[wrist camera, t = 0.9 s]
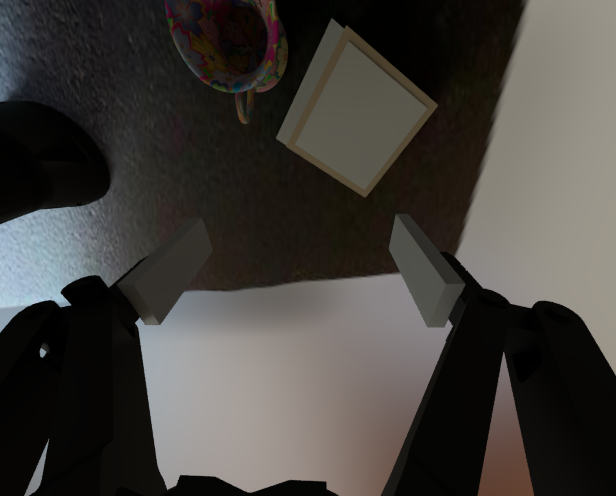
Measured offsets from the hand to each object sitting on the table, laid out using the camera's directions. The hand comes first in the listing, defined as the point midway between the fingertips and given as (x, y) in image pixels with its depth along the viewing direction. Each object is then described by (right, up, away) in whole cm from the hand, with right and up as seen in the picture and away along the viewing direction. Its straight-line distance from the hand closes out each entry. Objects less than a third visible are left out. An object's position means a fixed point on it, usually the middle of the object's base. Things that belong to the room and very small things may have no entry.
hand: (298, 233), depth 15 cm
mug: (-6, +22, +13) cm, 26 cm away
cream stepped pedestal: (+7, +17, +15) cm, 24 cm away
